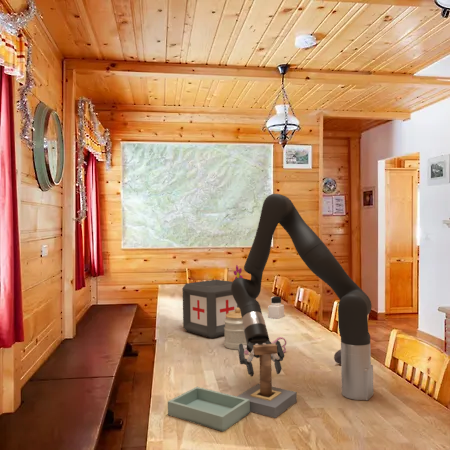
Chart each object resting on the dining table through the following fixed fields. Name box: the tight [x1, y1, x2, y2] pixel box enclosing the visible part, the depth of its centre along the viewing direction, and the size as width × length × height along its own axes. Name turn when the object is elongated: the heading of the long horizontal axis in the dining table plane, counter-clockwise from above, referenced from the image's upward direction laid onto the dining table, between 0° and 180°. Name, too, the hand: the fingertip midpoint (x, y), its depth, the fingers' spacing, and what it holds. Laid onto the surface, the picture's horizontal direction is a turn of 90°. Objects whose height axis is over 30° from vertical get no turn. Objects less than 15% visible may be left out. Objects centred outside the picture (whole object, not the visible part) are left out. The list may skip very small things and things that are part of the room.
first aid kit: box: [182, 279, 239, 339], centre depth 234 cm, size 25×25×25 cm
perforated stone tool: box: [333, 348, 341, 365], centre depth 177 cm, size 15×5×7 cm, turn 102°
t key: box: [253, 344, 277, 397], centre depth 139 cm, size 7×4×18 cm, turn 102°
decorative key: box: [244, 336, 287, 356], centre depth 193 cm, size 7×1×20 cm
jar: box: [223, 307, 247, 350], centre depth 205 cm, size 13×13×18 cm
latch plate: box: [236, 383, 298, 419], centre depth 139 cm, size 14×14×3 cm
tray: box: [167, 386, 251, 433], centre depth 133 cm, size 20×14×4 cm
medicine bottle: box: [267, 296, 285, 320], centre depth 264 cm, size 7×7×12 cm
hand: (265, 374), depth 139 cm, fingers open, 8 cm apart
